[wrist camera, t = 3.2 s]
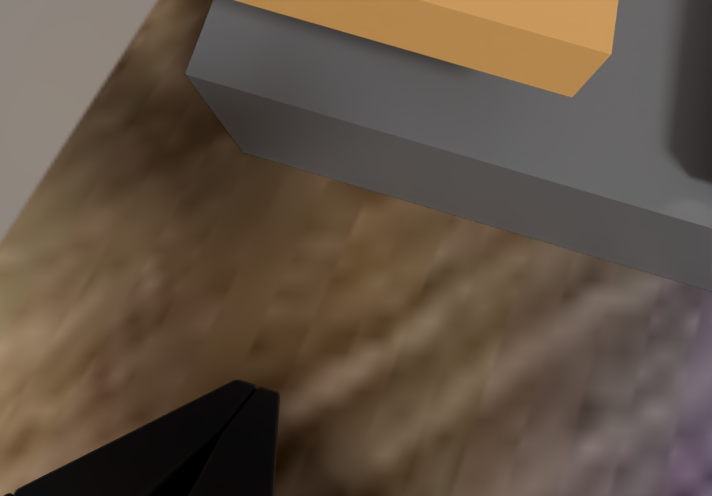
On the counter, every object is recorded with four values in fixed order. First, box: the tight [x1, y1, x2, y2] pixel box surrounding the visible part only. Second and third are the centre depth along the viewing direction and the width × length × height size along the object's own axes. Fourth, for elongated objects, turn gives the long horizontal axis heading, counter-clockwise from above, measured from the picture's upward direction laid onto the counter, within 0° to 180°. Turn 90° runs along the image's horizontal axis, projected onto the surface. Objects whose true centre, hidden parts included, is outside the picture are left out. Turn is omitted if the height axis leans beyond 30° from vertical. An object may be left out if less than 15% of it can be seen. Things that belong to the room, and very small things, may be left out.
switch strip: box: [185, 0, 712, 292], centre depth 16 cm, size 18×28×8 cm, turn 73°
